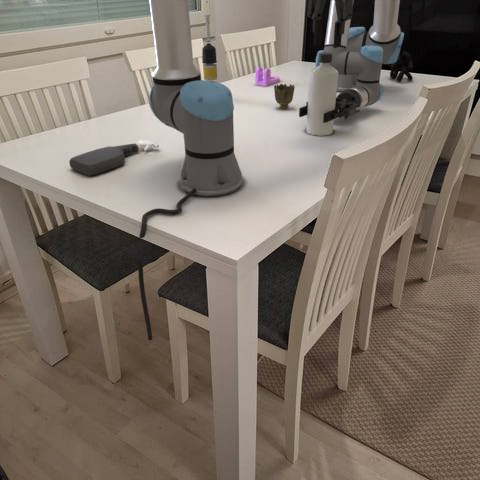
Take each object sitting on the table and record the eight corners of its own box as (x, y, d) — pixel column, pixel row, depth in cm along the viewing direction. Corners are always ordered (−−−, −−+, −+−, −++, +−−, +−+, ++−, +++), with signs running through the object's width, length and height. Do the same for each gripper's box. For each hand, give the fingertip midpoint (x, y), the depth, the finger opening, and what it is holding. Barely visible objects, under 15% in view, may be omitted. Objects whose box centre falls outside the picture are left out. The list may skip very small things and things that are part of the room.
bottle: (311, 136, 138) (317, 58, 126) (302, 128, 145) (306, 53, 133) (337, 134, 140) (344, 56, 128) (326, 126, 147) (333, 51, 135)
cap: (321, 63, 130) (321, 54, 128) (316, 61, 133) (316, 52, 132) (333, 62, 130) (334, 54, 129) (328, 60, 134) (329, 51, 132)
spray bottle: (67, 168, 120) (139, 144, 136) (91, 178, 114) (163, 151, 130) (65, 157, 118) (137, 134, 134) (89, 167, 112) (162, 142, 128)
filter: (220, 99, 177) (217, 15, 161) (206, 100, 176) (202, 16, 160) (215, 96, 182) (212, 14, 166) (202, 97, 180) (197, 14, 164)
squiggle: (400, 92, 202) (376, 71, 205) (417, 76, 202) (392, 56, 205) (405, 81, 191) (380, 59, 194) (423, 64, 191) (397, 42, 194)
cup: (270, 109, 164) (270, 87, 160) (278, 104, 169) (278, 82, 165) (289, 111, 161) (290, 89, 157) (296, 106, 166) (297, 84, 162)
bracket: (265, 86, 195) (266, 69, 191) (255, 84, 197) (255, 68, 194) (281, 80, 203) (282, 64, 200) (271, 79, 206) (271, 63, 203)
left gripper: (296, -48, 121) (293, 44, 133) (357, -50, 109) (348, 51, 121) (313, -48, 125) (308, 41, 137) (373, -51, 113) (362, 47, 126)
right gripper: (378, 117, 146) (340, 134, 132) (324, 105, 159) (284, 120, 145) (382, 94, 142) (343, 109, 128) (326, 84, 155) (285, 97, 141)
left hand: (327, 45), depth 129 cm, fingers open, 6 cm apart
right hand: (312, 115), depth 137 cm, fingers closed on bottle, 8 cm apart
